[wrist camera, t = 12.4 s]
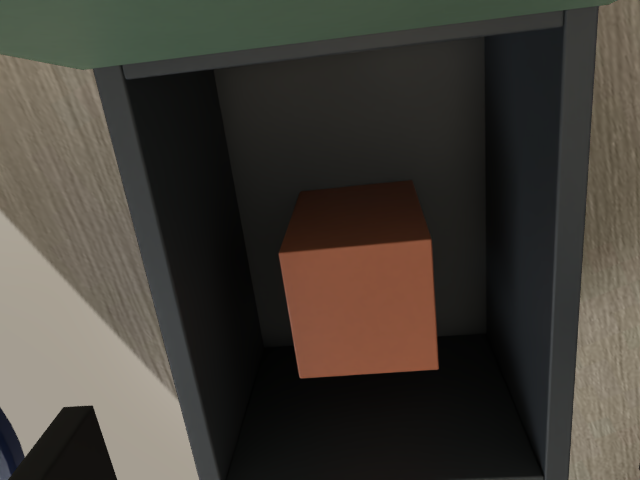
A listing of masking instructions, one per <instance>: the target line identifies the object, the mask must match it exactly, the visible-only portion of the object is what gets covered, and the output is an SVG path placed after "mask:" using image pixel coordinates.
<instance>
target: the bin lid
mask: <svg viewBox="0 0 640 480" xmlns="http://www.w3.org/2000/svg"><path fill="white" fill-rule="evenodd" d="M615 1H617V0H0V54H3V55H8V56H13V57H18V58H23V59H29V60H34V61H39V62H44V63H50V64H55V65H60V66H65V67H70V68H76V69H81V70H85V69H93V68H101V67H109V66H117V65H125V64H133V63H142V62H150V61H158V60H166V59H174V58H182V57H190V56H198V55H206V54H214V53H222V52H230V51H238V50H246V49H254V48H262V47H271V46H279V45H287V44H295V43H303V42H311V41H319V40H327V39H335V38H343V37H351V36H359V35H367V34H375V33H383V32H391V31H400V30H408V29H416V28H424V27H432V26H440V25H448V24H456V23H464V22H472V21H480V20H488V19H496V18H504V17H512V16H520V15H529V14H537V13H545V12H553V11H561V10H569V9H577V8H585V7H593V6H601V5H609V4H611V3H613V2H615Z"/></svg>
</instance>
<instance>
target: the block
mask: <svg viewBox="0 0 640 480" xmlns="http://www.w3.org/2000/svg"><path fill="white" fill-rule="evenodd" d="M279 260H280V266H281V271H282V277H283V283H284V289H285V295H286V301H287V307H288V313H289V319H290V325H291V331H292V337H293V343H294V349H295V355H296V361H297V367H298V373H299V377H300V378H315V377H331V376H346V375H361V374H377V373H392V372H408V371H423V370H437V369H439V360H438V342H437V324H436V306H435V287H434V269H433V251H432V239H431V236H430V233H429V230H428V227H427V224H426V221H425V218H424V215H423V212H422V209H421V206H420V203H419V199H418V196H417V193H416V190H415V187H414V184H413V181H412V180H408V181H398V182H388V183H378V184H369V185H359V186H349V187H340V188H330V189H320V190H311V191H301V192H300V194H299V196H298V199H297V202H296V205H295V208H294V211H293V214H292V217H291V219H290V222H289V225H288V228H287V231H286V234H285V237H284V240H283V242H282V245H281V248H280V251H279Z"/></svg>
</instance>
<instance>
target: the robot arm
mask: <svg viewBox="0 0 640 480" xmlns="http://www.w3.org/2000/svg"><path fill="white" fill-rule="evenodd" d="M639 470H640V465H639ZM8 480H117V478H116V475H115V472H114V469H113V466H112V463H111V460H110V457H109V454H108V451H107V448H106V445H105V442H104V439H103V436H102V433H101V430H100V426H99V423H98V421H97V418H96V414H95V411H94V409H93V406H77V407H64V408H63V409H62V410H61V411H60V413H59V414H58V415H57V417H56V418H55V419H54V420H53V422H52V423H51V424H50V426H49V427H48V428H47V430H46V431H45V432H44V433H43V435H42V436H41V438H40V439H39V440H38V441H37V443H36V444H35V445H34V447H33V448H32V449H31V451H30V452H29V453H28V454H27V456H26V457H25V458H24V460H23V461H22V462H21V464H20V465H19V466H18V468H17V469H16V470H15V472H14V473H13V474H12V475H11V477H10V478H9V479H8Z"/></svg>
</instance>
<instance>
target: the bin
mask: <svg viewBox="0 0 640 480" xmlns="http://www.w3.org/2000/svg"><path fill="white" fill-rule="evenodd" d="M598 8H599V6H593V7H585V8H577V9H569V10H561V11H553V12H545V13H537V14H529V15H520V16H512V17H504V18H496V19H488V20H480V21H472V22H464V23H456V24H448V25H440V26H432V27H424V28H416V29H408V30H400V31H391V32H383V33H375V34H367V35H359V36H351V37H343V38H335V39H327V40H319V41H311V42H303V43H295V44H287V45H279V46H271V47H262V48H254V49H246V50H238V51H230V52H222V53H214V54H206V55H198V56H190V57H182V58H174V59H166V60H158V61H150V62H142V63H133V64H125V65H117V66H109V67H101V68H93V71H94V75H95V79H96V83H97V87H98V91H99V94H100V98H101V102H102V106H103V110H104V114H105V118H106V121H107V125H108V129H109V133H110V137H111V141H112V145H113V148H114V152H115V156H116V160H117V164H118V168H119V172H120V175H121V179H122V183H123V187H124V191H125V195H126V199H127V202H128V206H129V210H130V214H131V218H132V222H133V226H134V229H135V233H136V237H137V241H138V245H139V249H140V253H141V256H142V260H143V264H144V268H145V272H146V276H147V280H148V283H149V287H150V291H151V295H152V299H153V303H154V307H155V310H156V314H157V318H158V322H159V326H160V330H161V334H162V338H163V341H164V345H165V349H166V353H167V357H168V361H169V365H170V368H171V372H172V376H173V380H174V384H175V388H176V392H177V395H178V399H179V403H180V407H181V411H182V414H183V418H184V422H185V426H186V430H187V434H188V438H189V442H190V446H191V449H192V453H193V457H194V461H195V464H196V469H197V473H198V476H199V480H568V477H569V462H570V446H571V430H572V415H573V399H574V384H575V368H576V352H577V337H578V321H579V305H580V290H581V274H582V258H583V243H584V227H585V211H586V196H587V180H588V165H589V149H590V133H591V118H592V102H593V86H594V71H595V55H596V39H597V24H598ZM408 180H412V181H413V184H414V187H415V190H416V193H417V196H418V199H419V203H420V206H421V209H422V212H423V215H424V218H425V221H426V224H427V227H428V230H429V233H430V236H431V239H432V251H433V269H434V287H435V306H436V324H437V342H438V360H439V369H437V370H423V371H408V372H392V373H377V374H361V375H346V376H331V377H315V378H300V377H299V373H298V367H297V361H296V355H295V349H294V343H293V337H292V331H291V325H290V319H289V313H288V307H287V301H286V295H285V289H284V283H283V277H282V271H281V266H280V260H279V251H280V248H281V245H282V242H283V240H284V237H285V234H286V231H287V228H288V225H289V222H290V219H291V217H292V214H293V211H294V208H295V205H296V202H297V199H298V196H299V194H300V192H301V191H311V190H320V189H330V188H340V187H349V186H359V185H369V184H378V183H388V182H398V181H408Z"/></svg>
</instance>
